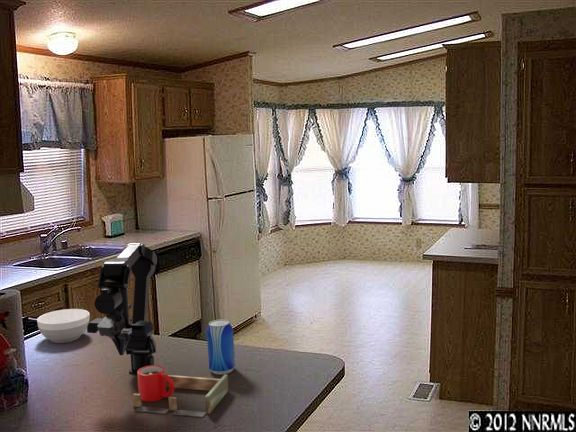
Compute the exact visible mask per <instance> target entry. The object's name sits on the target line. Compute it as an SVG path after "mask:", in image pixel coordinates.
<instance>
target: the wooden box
mask: <svg viewBox="0 0 576 432" xmlns="http://www.w3.org/2000/svg"><path fill="white" fill-rule="evenodd" d="M168 375H169V376H170V377H171V379H172V380H173V382H174V389H186V390H194V391H195V390H198V391H208V393H207V394H206V395H205V397H204V398H205V412H204V411H194V410H183V409H178V398H177V397H176V396H169V397H168V408H165V407H164V408H162V407H153V406H152V407H151V406H142V405H143V404H142V400H141V394H139V393H133V394H132V402H133V403H132V404H133V408H136V409H135V412H140V413H151V414H160V415H166V414H167V413H168V412H169V411H173V412H172V413H171V415H172V416H179V417H180V416H181V417H190V418H205V416H206V415H207V414H211V413H212V412H213V410H214V409H215V408H216V407H217V406H218V404H219V403H220V402H221V401H222V399H223V398H224V396H225V395H226V394H227V393H228V392H229V383H228V382H229V381H228V380H229V378H228V374H222V377H221V378H215V377H214V378H212V377H200V376H189V375H187V376H186V375H173V374H168ZM165 382H166V388H169V384H168V382H167V381H166V380H165Z"/></svg>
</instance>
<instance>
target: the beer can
mask: <svg viewBox="0 0 576 432" xmlns="http://www.w3.org/2000/svg"><path fill="white" fill-rule="evenodd" d="M234 342H235V341H234V329H233V326H232V325H231V324H230V321H229V320H228V319H223V318H221V319H214V320H211V321H210V322H208V327H207V328H206V343H207V356H208V368H209V370H210V372H211V373H212V374H214V375H222V376H223V375H228V374H230V373H232V372H233V371H234V368H235V367H236V357H235V355H236V354H235V343H234Z"/></svg>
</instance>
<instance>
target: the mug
mask: <svg viewBox="0 0 576 432" xmlns="http://www.w3.org/2000/svg"><path fill="white" fill-rule="evenodd" d="M165 369H166V368H165V367H164V366H162V365H158V364H154V365H149V366H145V367H142V368H140V369H139V370H138V371H137V374H136V375H137V387H138V388H137V389H138V394H141V402H142V401H143V402H155V401H156V402H157V401H159V400H162V399H164V398H169V397H172V395H173V394H174V391H175V388H174V382H173V380H172V379H171V377H170V376H169V375H170V374H167V373H166V370H165ZM165 380H166V381H167V382H168V384H169V387H168V388H169V389H168V390H167V387H166V382H165Z"/></svg>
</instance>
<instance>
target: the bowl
mask: <svg viewBox="0 0 576 432" xmlns="http://www.w3.org/2000/svg"><path fill="white" fill-rule="evenodd" d="M36 322H37V323H36V324H37V327H38V330H39V333H40V334H41V335H42V336H43V337H44V338H45V339H48V340H49V341H50V342H51V343H54V344H55V343H56V344H60V343H61V344H64V343H70V342H74V341H77V340H79V339H80V338H81V336H82V335H83V334H84V333H86V332H87V325H88V323H89V322H90V312H89V311H88V310H86V309H81V308H67V309H59V310H57V309H56V310H53V311H49V312H46V313H44V314H42V315H39V317H38V316H37V318H36Z"/></svg>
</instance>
